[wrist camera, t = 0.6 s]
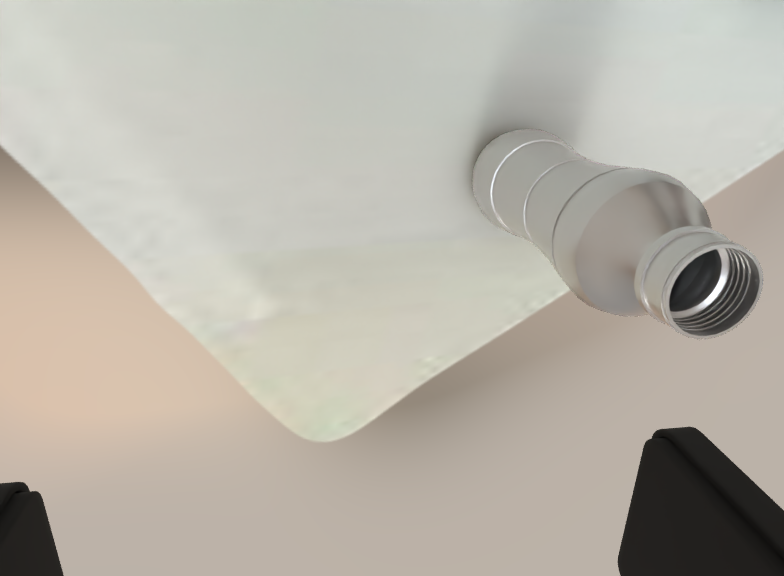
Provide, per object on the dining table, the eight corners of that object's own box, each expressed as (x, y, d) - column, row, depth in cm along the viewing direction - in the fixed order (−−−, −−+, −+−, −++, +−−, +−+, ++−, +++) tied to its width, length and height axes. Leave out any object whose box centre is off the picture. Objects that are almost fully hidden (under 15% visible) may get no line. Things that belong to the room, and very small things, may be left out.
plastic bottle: (500, 103, 36) (710, 160, 18) (579, 158, 38) (840, 259, 20) (444, 191, 37) (584, 328, 19) (523, 239, 40) (716, 401, 21)
